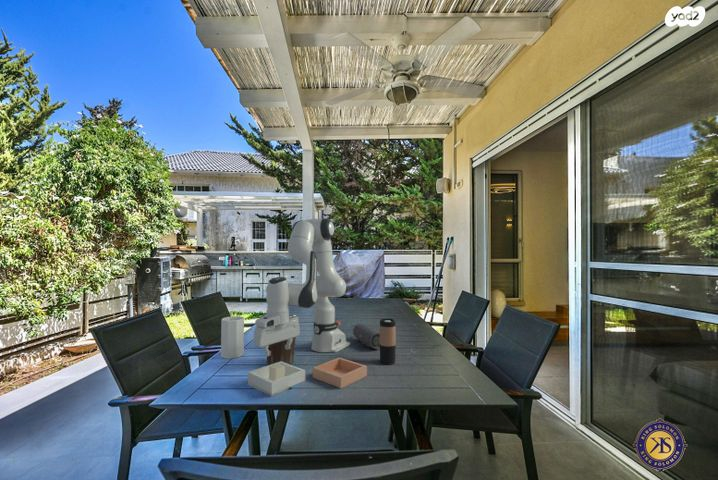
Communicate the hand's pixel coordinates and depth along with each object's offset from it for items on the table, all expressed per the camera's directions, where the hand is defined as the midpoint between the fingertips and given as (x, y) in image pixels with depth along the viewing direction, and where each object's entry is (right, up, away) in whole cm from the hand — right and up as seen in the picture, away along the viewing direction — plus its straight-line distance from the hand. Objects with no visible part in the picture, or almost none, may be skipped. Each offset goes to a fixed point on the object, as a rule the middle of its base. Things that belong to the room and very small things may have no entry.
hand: (278, 352), depth 130 cm
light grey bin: (0, -12, -1) cm, 12 cm away
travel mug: (+46, -13, +24) cm, 54 cm away
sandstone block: (0, -11, -1) cm, 11 cm away
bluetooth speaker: (+37, -14, +51) cm, 65 cm away
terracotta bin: (+25, -13, +5) cm, 28 cm away
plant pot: (-5, -13, +22) cm, 26 cm away
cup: (-31, -13, +33) cm, 48 cm away
